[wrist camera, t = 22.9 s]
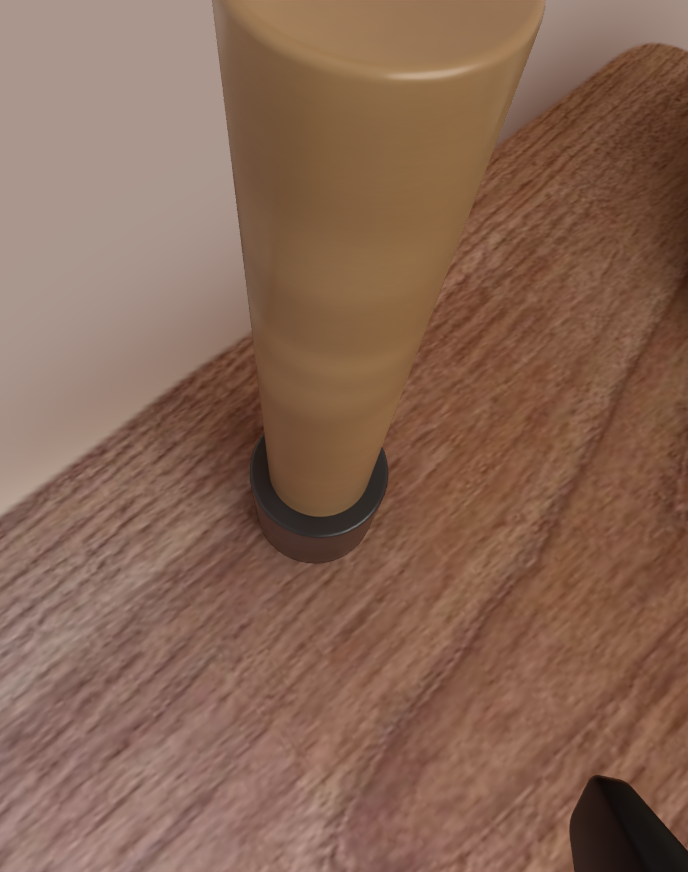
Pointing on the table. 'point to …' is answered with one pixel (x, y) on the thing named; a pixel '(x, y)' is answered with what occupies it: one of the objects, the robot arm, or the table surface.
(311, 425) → the wooden furniture leg
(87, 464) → the table surface
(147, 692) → the table surface
